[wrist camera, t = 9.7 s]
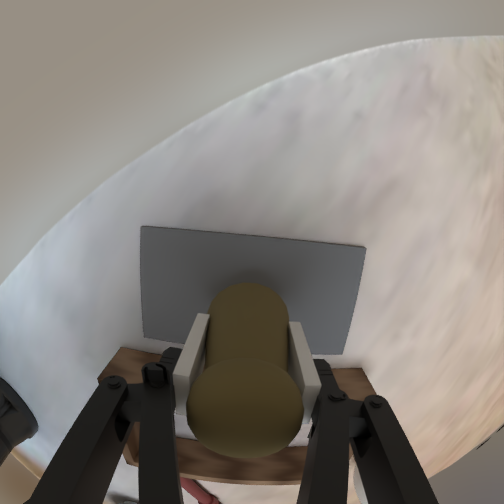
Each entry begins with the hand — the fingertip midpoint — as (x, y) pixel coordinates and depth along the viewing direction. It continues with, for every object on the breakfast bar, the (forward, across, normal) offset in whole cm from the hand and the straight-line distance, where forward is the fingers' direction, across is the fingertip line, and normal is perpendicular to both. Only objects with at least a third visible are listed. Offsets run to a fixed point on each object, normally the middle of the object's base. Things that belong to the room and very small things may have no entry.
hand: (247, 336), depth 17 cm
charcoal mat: (+7, 0, 0) cm, 7 cm away
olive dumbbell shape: (+2, 0, 0) cm, 2 cm away
